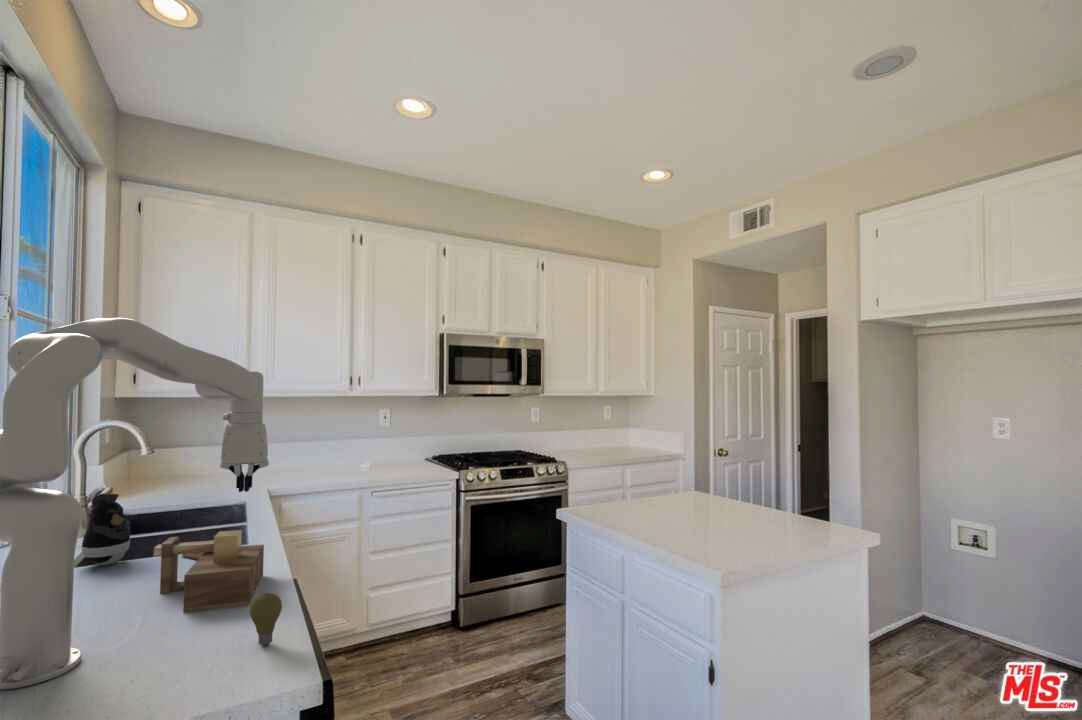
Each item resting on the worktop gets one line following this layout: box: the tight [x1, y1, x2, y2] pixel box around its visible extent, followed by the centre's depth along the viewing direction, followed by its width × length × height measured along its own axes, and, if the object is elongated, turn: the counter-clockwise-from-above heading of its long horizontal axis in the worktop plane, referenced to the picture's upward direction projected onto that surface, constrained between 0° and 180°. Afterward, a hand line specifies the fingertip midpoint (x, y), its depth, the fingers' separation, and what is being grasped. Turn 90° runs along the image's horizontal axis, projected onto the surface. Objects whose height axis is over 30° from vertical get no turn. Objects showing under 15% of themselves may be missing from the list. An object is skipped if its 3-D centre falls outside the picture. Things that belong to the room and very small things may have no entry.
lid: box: [183, 529, 265, 581], centre depth 133 cm, size 20×13×8 cm, turn 19°
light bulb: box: [249, 592, 283, 647], centre depth 107 cm, size 6×6×10 cm
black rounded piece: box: [80, 492, 131, 566], centre depth 152 cm, size 11×11×20 cm
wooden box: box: [159, 536, 265, 614], centre depth 132 cm, size 20×22×12 cm
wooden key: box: [153, 539, 214, 557], centre depth 137 cm, size 3×14×2 cm, turn 109°
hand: (244, 490), depth 141 cm, fingers closed
